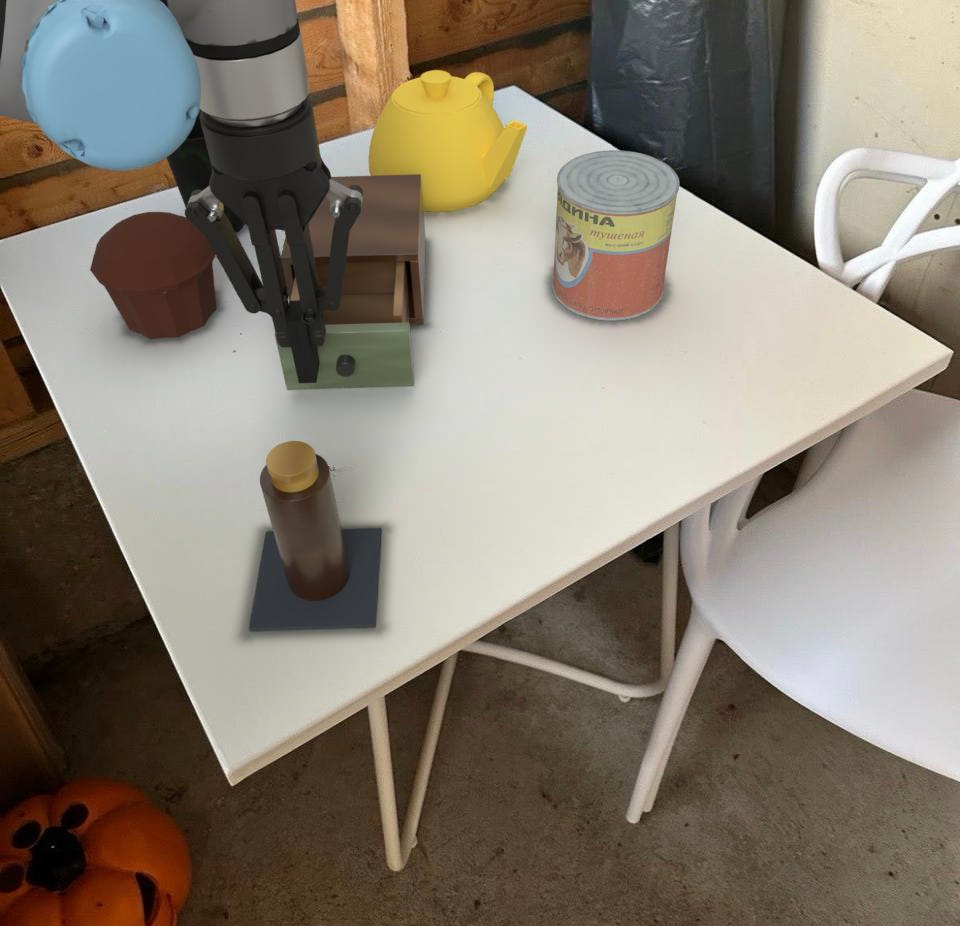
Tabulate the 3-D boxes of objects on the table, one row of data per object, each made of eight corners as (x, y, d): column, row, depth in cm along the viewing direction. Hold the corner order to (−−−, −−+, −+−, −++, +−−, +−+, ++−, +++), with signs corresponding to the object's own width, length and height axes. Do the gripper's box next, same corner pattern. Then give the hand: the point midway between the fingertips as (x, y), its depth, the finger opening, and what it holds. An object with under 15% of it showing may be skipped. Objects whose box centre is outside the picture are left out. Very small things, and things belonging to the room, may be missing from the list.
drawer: (413, 395, 82) (408, 339, 78) (285, 399, 82) (272, 343, 78) (417, 297, 92) (413, 242, 88) (303, 300, 92) (292, 246, 88)
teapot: (342, 190, 109) (327, 82, 100) (442, 128, 119) (437, 26, 110) (477, 245, 100) (475, 133, 91) (573, 174, 111) (579, 67, 101)
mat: (249, 631, 66) (248, 628, 66) (266, 534, 72) (265, 531, 72) (375, 627, 66) (374, 624, 66) (381, 531, 72) (381, 527, 72)
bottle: (284, 602, 67) (250, 485, 58) (291, 552, 71) (260, 434, 62) (347, 600, 67) (322, 482, 58) (351, 550, 71) (329, 432, 62)
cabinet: (423, 324, 91) (417, 253, 85) (294, 328, 91) (280, 257, 85) (425, 242, 101) (421, 173, 95) (310, 245, 101) (298, 177, 95)
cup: (172, 239, 102) (141, 136, 94) (202, 204, 107) (176, 103, 99) (236, 247, 101) (211, 143, 92) (264, 211, 106) (243, 109, 97)
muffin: (118, 359, 88) (83, 270, 81) (105, 295, 95) (72, 208, 88) (242, 328, 91) (219, 240, 84) (220, 269, 98) (198, 183, 91)
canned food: (531, 275, 96) (534, 168, 88) (622, 245, 100) (633, 139, 91) (590, 333, 89) (600, 224, 81) (685, 299, 93) (704, 191, 84)
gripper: (356, 74, 64) (388, 342, 81) (168, 80, 64) (239, 347, 81) (348, 125, 59) (383, 400, 76) (143, 131, 59) (225, 404, 76)
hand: (309, 372), depth 79 cm, fingers closed
